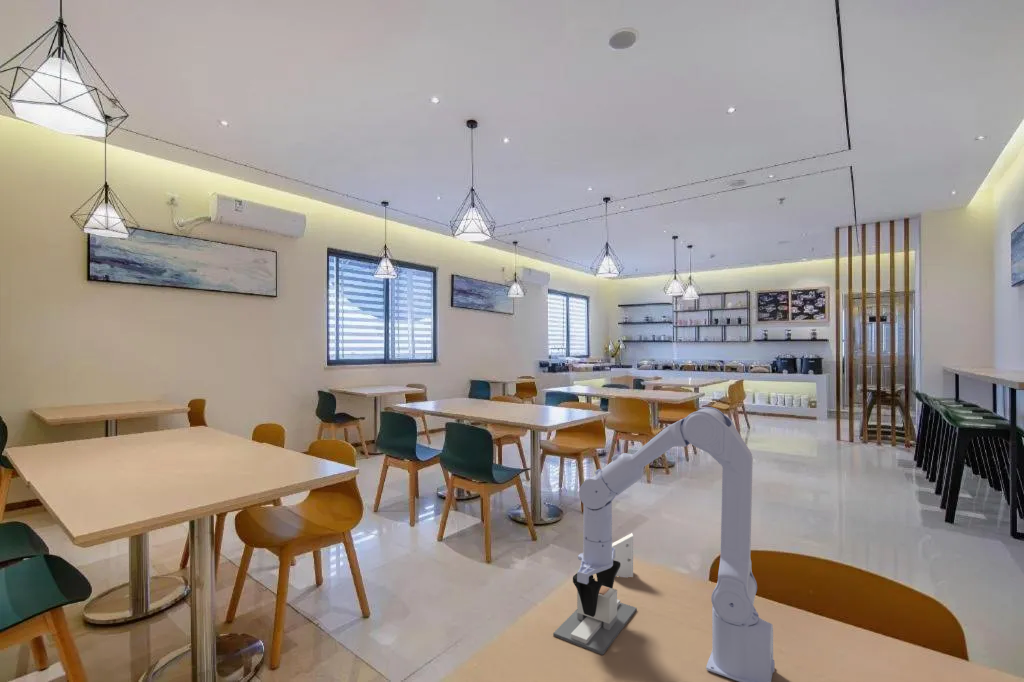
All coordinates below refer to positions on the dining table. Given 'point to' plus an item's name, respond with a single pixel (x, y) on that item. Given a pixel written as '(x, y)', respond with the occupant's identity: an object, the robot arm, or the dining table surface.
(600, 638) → the din rail
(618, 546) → the white angled block
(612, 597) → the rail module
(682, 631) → the dining table surface
